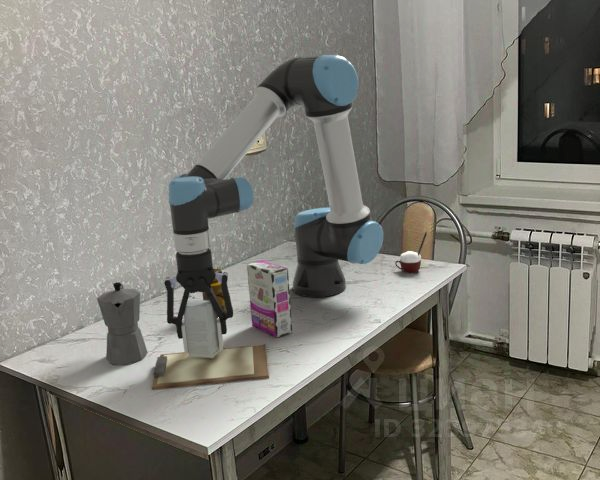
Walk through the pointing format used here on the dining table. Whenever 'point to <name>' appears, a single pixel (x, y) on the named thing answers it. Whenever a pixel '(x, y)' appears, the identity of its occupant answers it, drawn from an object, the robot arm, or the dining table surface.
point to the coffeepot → (122, 325)
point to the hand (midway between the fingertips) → (204, 349)
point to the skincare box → (201, 329)
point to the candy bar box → (270, 298)
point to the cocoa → (411, 260)
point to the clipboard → (211, 367)
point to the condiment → (216, 292)
